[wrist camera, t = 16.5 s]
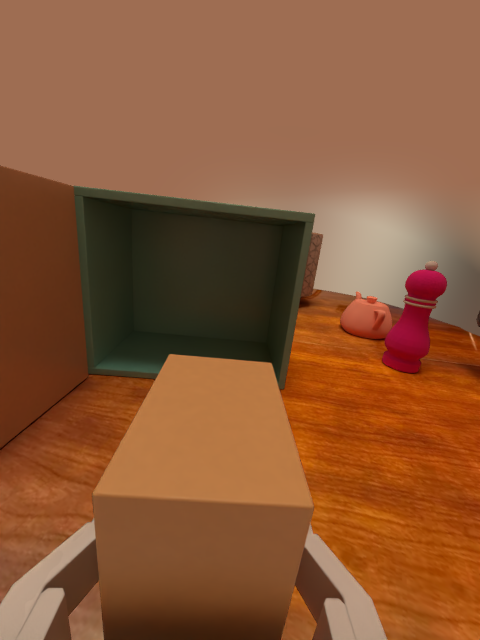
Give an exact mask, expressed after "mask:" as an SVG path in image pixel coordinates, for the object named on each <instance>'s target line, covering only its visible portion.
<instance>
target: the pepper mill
mask: <svg viewBox="0 0 480 640" xmlns="http://www.w3.org/2000/svg"><path fill="white" fill-rule="evenodd" d="M437 267H438V264H437V262H435V261H429V262H427V263H426V265H425V268H426V270H418V271H416V272H413V273H412V274H411V275H410V276H409V277H408V278H407V281H406V284H405V287H406V290H407V292H408V295H405V300H404V302H405V308H404V311H403V313H402V316H401V318H400V319H399V321H398V322H397V323H396V324H395V325H394V327H393V328H392V329H391V330H390V331H389V333H388V334H387V336H386V338H385V346H386V347H387V349H388V351H385V352H384V355H383V358H382V361H383V363H384V364H386V365H387V366H389V367H391V368H393V369H395V370H398V371H402V372H407V373H416V372H418V371H419V368H420V365H421V362H420V360H419V359H420V358H422V357H424V356H426V355H427V354H428V352H429V348H430V338H429V332H428V320H429V316H430V313H431V311H432V309H434V308H436V306H435V305H436V303H437V302H438V301H437V300H436V298H437V297H439V296H440V295H442V294H443V293H444V292H445V290H446V286H447V281H446V278H445V277H444V276H443V275H442V274H441V273H439V272H437V271H434V270H436V269H437Z"/></svg>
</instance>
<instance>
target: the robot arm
mask: <svg viewBox="0 0 480 640" xmlns="http://www.w3.org/2000/svg"><path fill="white" fill-rule="evenodd" d="M98 580H99V573H98V561H97V549H96V537H95V525H94V518H93V520H92V522H87V523H86V524H85V525H84V526H82V527H81V528H80V529H79V530H78V531H76V532H75V533H74V534H73V535H72V536H70V537H69V538H68V539H67V540H66V541H64V542H63V543H62V544H61V545H60V546H58V547H57V548H56V549H55V550H54V551H52V552H51V553H50V554H49V555H48V556H46V557H45V558H44V559H43V560H42V561H40V562H39V563H38V564H37V565H36V566H34V567H33V568H32V569H31V570H30V571H28V572H27V573H26V574H25V575H24V576H22V577H21V578H20V579H19V580H18V581H16V582H15V583H14V584H13V585H12V586H11V588H10V590H9V591H8V593H7V594H6V596H5V597H4V599H3V601H2V602H1V604H0V640H71V633H70V626H69V619H68V616H69V615H70V614H71V612H72V611H73V610H74V609H75V608H76V606H77V605H78V604H79V603H80V602H81V601H82V599H83V598H84V597H85V596H86V595H87V593H88V592H89V591H90V590H91V589H92V587H93V586H94V585H95V584H96V583H97V582H98ZM295 586H296V587H297V589H298V591H299V593H300V594H301V596H302V598H303V599H304V601H305V603H306V605H307V606H308V608H309V610H310V612H311V613H312V615H313V617H314V619H315V620H316V622H317V627H316V630H315V633H314V636H313V639H312V640H387V638H386V635H385V632H384V630H383V627H382V625H381V622H380V619H379V617H378V614H377V611H376V609H375V606H374V604H373V601H372V598H371V597H370V596H369V595H368V594H367V593H366V591H365V590H364V589H363V588H362V587H361V585H360V584H359V583H358V582H357V581H356V580H355V578H354V577H353V576H352V575H351V574H350V572H349V571H348V570H347V569H346V568H345V566H344V565H343V564H342V563H341V562H340V561H339V559H338V558H337V557H336V556H335V555H334V553H333V552H332V551H331V550H330V549H329V548H328V546H327V545H326V544H325V543H324V542H323V540H322V539H321V538H320V537H319V536H318V535H317V534H313V531H312V527H311V524H310V526H309V530H308V534H307V538H306V542H305V546H304V550H303V554H302V558H301V562H300V566H299V570H298V574H297V577H296V581H295Z"/></svg>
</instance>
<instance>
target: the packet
mask: <svg viewBox="0 0 480 640" xmlns="http://www.w3.org/2000/svg"><path fill="white" fill-rule="evenodd" d="M92 501H93V513H94V525H95V537H96V549H97V561H98V573H99V585H100V597H101V608H102V620H103V632H104V640H281V637H282V633H283V629H284V625H285V621H286V617H287V613H288V609H289V605H290V601H291V597H292V593H293V589H294V585H295V581H296V577H297V574H298V570H299V566H300V562H301V558H302V554H303V550H304V546H305V542H306V538H307V534H308V530H309V526H310V522H311V518H312V514H313V510H314V504H313V501H312V498H311V494H310V491H309V487H308V484H307V481H306V477H305V474H304V471H303V467H302V464H301V460H300V457H299V454H298V450H297V447H296V444H295V440H294V437H293V434H292V430H291V427H290V423H289V420H288V417H287V413H286V410H285V407H284V403H283V400H282V396H281V393H280V390H279V386H278V383H277V380H276V376H275V373H274V369H273V366H272V363H268V362H256V361H244V360H233V359H221V358H209V357H198V356H186V355H174V354H169V356H168V358H167V360H166V361H165V363H164V365H163V367H162V369H161V370H160V372H159V374H158V376H157V378H156V379H155V381H154V383H153V385H152V387H151V388H150V390H149V392H148V394H147V396H146V398H145V399H144V401H143V403H142V405H141V407H140V408H139V410H138V412H137V414H136V416H135V417H134V419H133V421H132V423H131V425H130V426H129V428H128V430H127V432H126V434H125V435H124V437H123V439H122V441H121V443H120V445H119V446H118V448H117V450H116V452H115V454H114V455H113V457H112V459H111V461H110V463H109V464H108V466H107V468H106V470H105V472H104V473H103V475H102V477H101V479H100V481H99V482H98V484H97V486H96V488H95V490H94V491H93V493H92Z"/></svg>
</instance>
